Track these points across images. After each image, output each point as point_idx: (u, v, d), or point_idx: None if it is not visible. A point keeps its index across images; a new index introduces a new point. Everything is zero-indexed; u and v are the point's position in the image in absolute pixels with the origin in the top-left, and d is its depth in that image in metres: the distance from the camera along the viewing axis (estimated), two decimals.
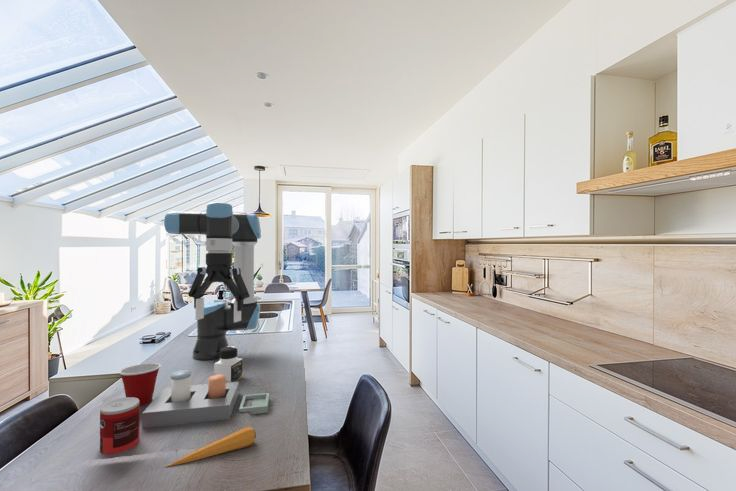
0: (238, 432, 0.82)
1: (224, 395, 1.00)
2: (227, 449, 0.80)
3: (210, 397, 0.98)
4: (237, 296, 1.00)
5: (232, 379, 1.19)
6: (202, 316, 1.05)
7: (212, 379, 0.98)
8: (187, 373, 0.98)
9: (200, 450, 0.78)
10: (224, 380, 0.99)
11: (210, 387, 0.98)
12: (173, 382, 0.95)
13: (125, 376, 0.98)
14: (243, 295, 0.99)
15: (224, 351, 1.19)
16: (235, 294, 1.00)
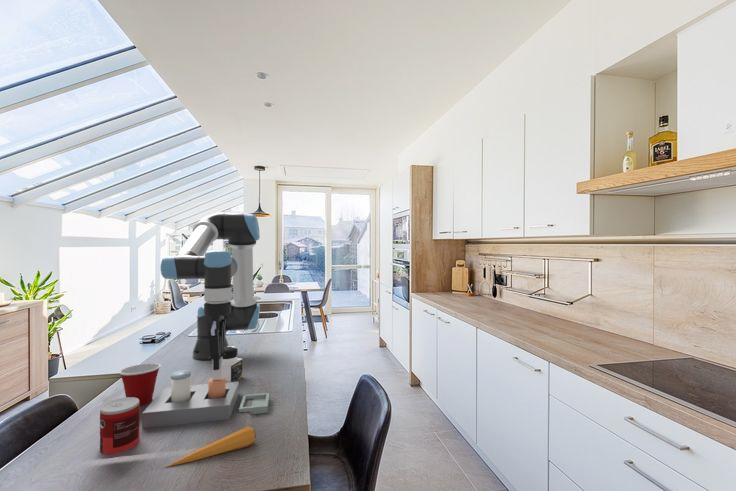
0: (238, 432, 0.82)
1: (224, 397, 1.00)
2: (227, 449, 0.80)
3: None
4: None
5: (232, 379, 1.19)
6: None
7: (212, 381, 0.98)
8: (187, 373, 0.98)
9: (200, 450, 0.78)
10: (224, 382, 0.99)
11: (210, 389, 0.98)
12: (173, 382, 0.95)
13: (125, 376, 0.98)
14: (210, 356, 0.96)
15: (224, 351, 1.19)
16: None
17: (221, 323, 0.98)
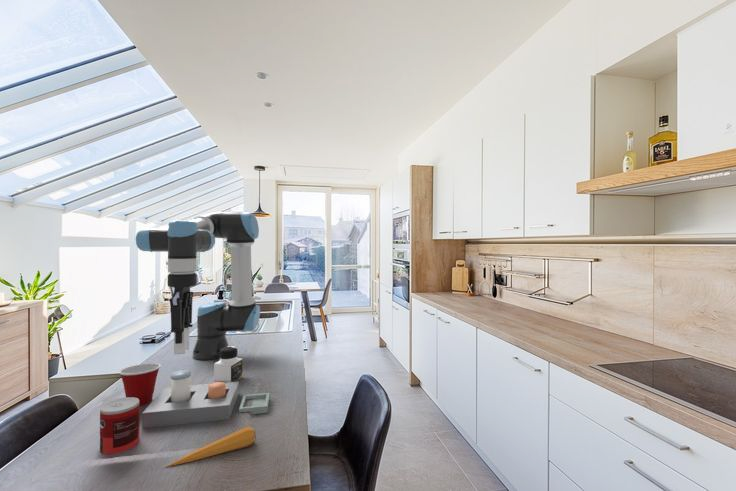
0: (238, 432, 0.82)
1: None
2: (227, 449, 0.79)
3: None
4: None
5: (232, 379, 1.19)
6: (186, 347, 0.99)
7: (212, 387, 0.98)
8: (187, 373, 0.98)
9: (200, 450, 0.78)
10: (224, 388, 0.99)
11: (210, 395, 0.98)
12: (173, 382, 0.95)
13: (125, 376, 0.98)
14: None
15: (224, 351, 1.19)
16: None
17: (185, 294, 0.96)
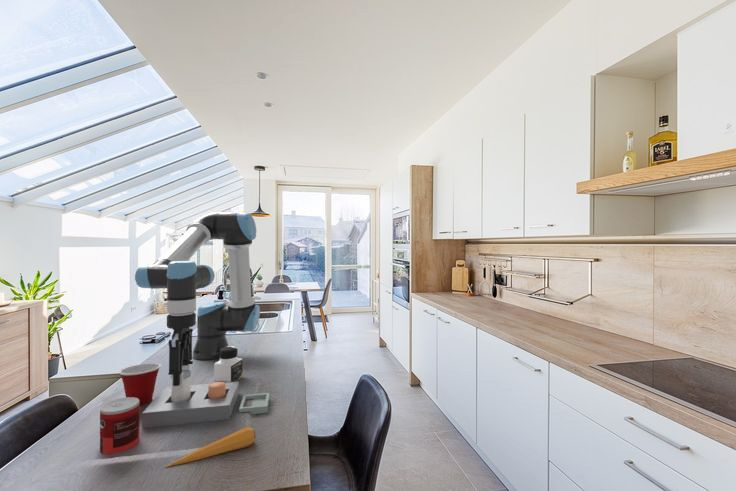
0: (238, 432, 0.82)
1: None
2: (227, 449, 0.79)
3: None
4: None
5: (232, 379, 1.19)
6: None
7: (212, 387, 0.98)
8: (187, 373, 0.98)
9: (199, 450, 0.78)
10: (224, 388, 0.99)
11: (210, 395, 0.98)
12: None
13: (125, 376, 0.98)
14: (169, 371, 0.92)
15: (224, 351, 1.19)
16: None
17: (184, 335, 0.96)
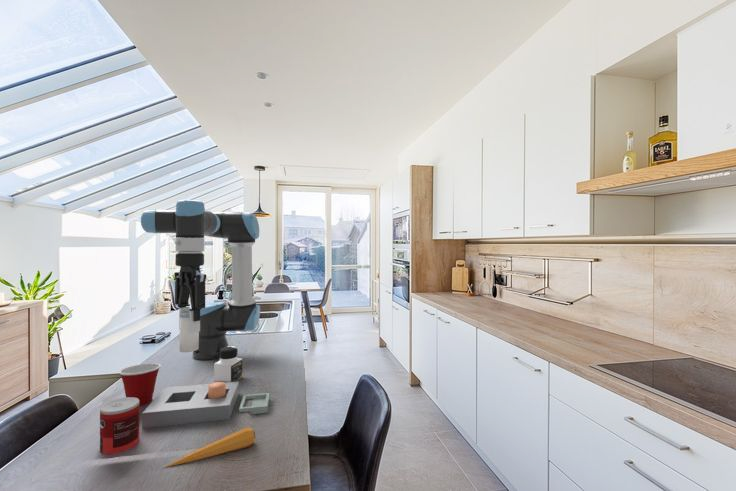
0: (237, 433, 0.82)
1: None
2: (226, 450, 0.79)
3: None
4: (192, 306, 0.95)
5: (232, 379, 1.19)
6: None
7: (212, 387, 0.98)
8: None
9: (199, 450, 0.78)
10: (224, 388, 0.99)
11: (210, 395, 0.98)
12: (188, 320, 0.96)
13: (125, 376, 0.98)
14: (196, 306, 0.94)
15: (224, 351, 1.19)
16: (192, 303, 0.95)
17: None
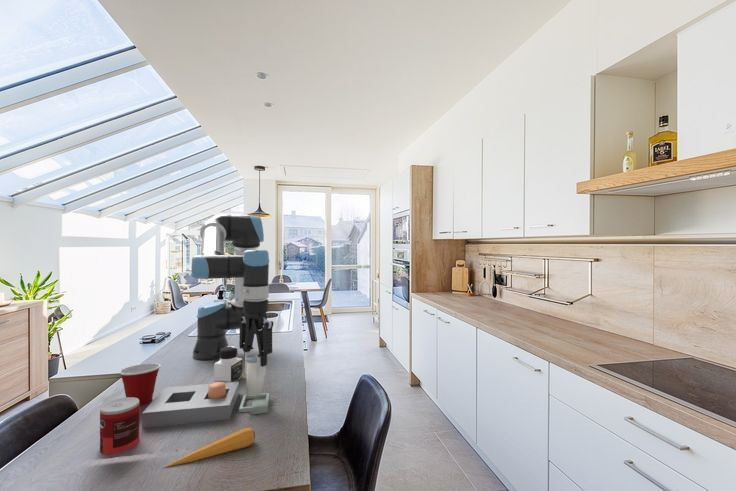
0: (237, 432, 0.82)
1: None
2: (226, 450, 0.79)
3: None
4: (260, 352, 0.99)
5: (232, 379, 1.19)
6: None
7: (212, 387, 0.98)
8: None
9: (199, 450, 0.78)
10: (224, 388, 0.99)
11: (210, 395, 0.98)
12: (256, 365, 1.00)
13: (125, 376, 0.98)
14: (265, 352, 0.98)
15: (224, 351, 1.19)
16: (260, 349, 0.99)
17: None
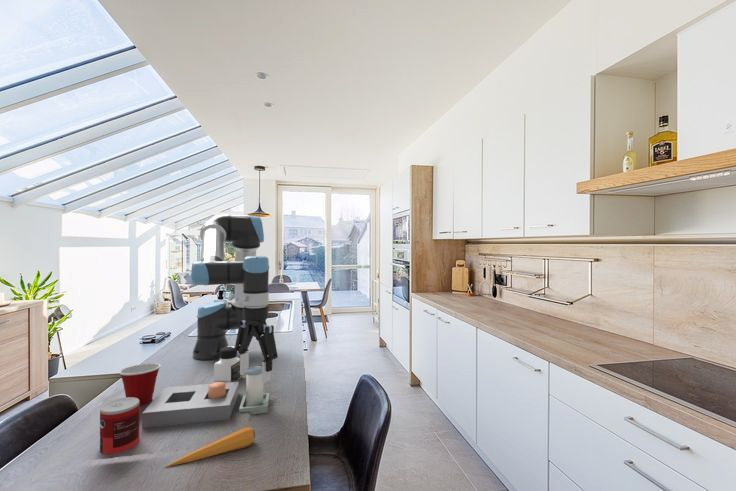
0: (237, 432, 0.82)
1: None
2: (226, 449, 0.79)
3: None
4: (265, 357, 0.98)
5: (232, 379, 1.19)
6: None
7: (212, 387, 0.98)
8: (260, 367, 1.03)
9: (199, 450, 0.78)
10: (224, 388, 0.99)
11: (210, 395, 0.98)
12: (255, 377, 1.00)
13: (125, 376, 0.97)
14: (270, 357, 0.97)
15: (224, 351, 1.19)
16: (264, 354, 0.98)
17: None
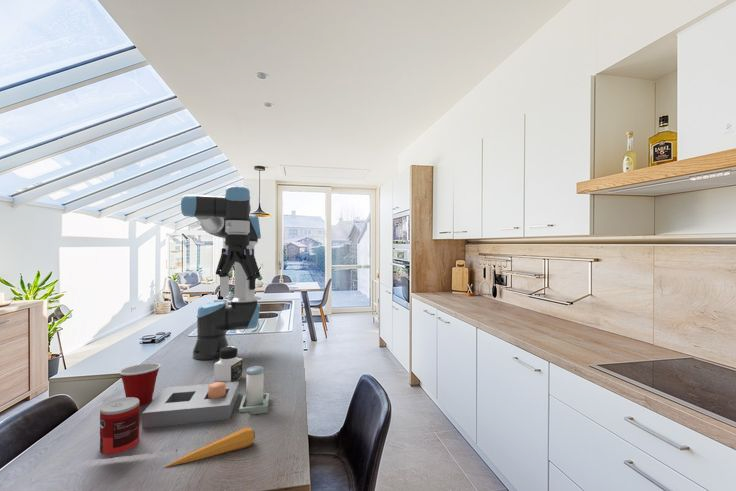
0: (237, 432, 0.82)
1: None
2: (226, 450, 0.79)
3: None
4: (248, 275, 1.04)
5: (232, 379, 1.19)
6: (227, 293, 1.13)
7: (212, 387, 0.98)
8: (260, 367, 1.03)
9: (199, 450, 0.78)
10: (224, 388, 0.99)
11: (210, 395, 0.98)
12: (255, 377, 1.00)
13: (125, 376, 0.98)
14: (253, 275, 1.03)
15: (224, 351, 1.19)
16: (247, 273, 1.04)
17: None
